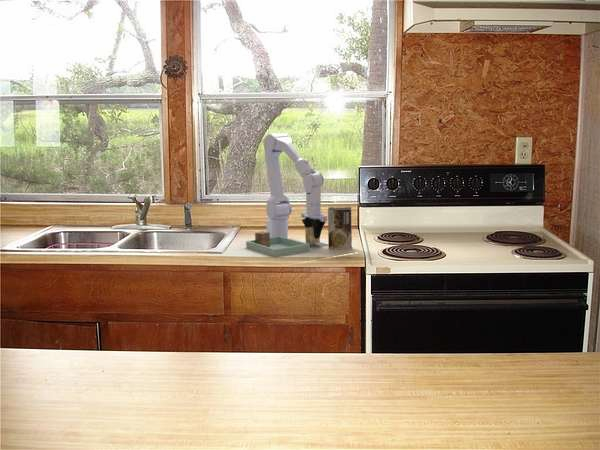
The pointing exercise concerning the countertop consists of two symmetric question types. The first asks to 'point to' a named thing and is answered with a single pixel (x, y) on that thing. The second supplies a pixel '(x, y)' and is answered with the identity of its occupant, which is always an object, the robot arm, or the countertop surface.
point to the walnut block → (262, 238)
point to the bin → (279, 246)
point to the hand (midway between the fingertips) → (313, 237)
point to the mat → (317, 245)
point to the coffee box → (339, 228)
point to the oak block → (311, 236)
